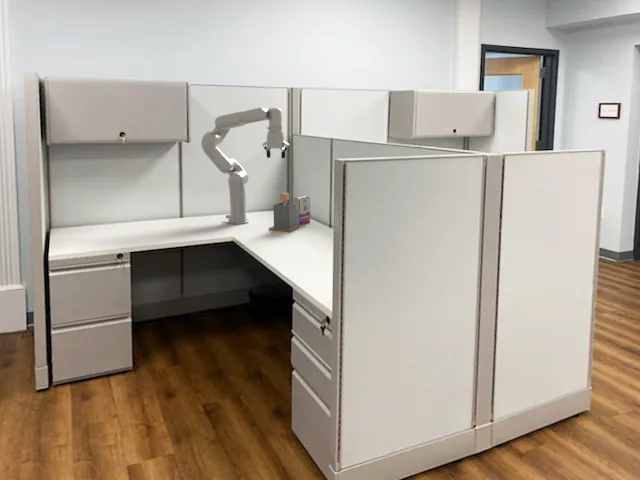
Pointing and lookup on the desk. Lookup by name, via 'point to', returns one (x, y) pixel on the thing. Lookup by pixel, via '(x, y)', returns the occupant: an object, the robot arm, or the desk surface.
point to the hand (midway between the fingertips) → (276, 157)
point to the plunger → (284, 197)
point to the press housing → (285, 217)
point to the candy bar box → (302, 209)
